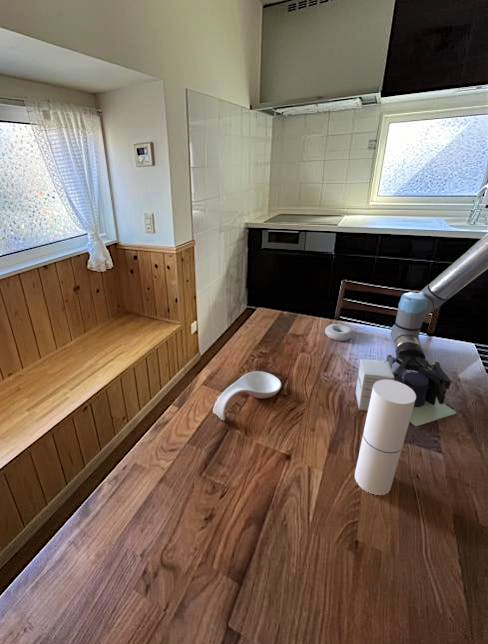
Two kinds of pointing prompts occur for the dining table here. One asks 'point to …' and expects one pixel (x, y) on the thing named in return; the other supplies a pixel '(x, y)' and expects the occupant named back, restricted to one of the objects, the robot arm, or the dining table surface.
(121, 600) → the dining table surface
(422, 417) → the felt mat
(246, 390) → the spoon rest
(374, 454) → the cylindrical container
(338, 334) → the donut
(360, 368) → the white packaging box
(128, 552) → the dining table surface
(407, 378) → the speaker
